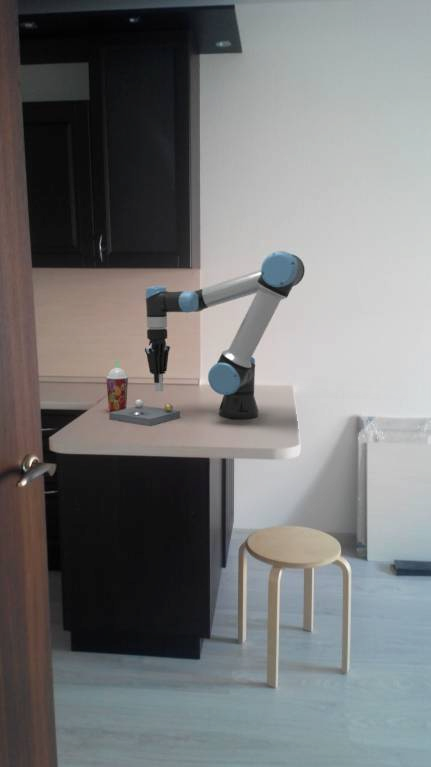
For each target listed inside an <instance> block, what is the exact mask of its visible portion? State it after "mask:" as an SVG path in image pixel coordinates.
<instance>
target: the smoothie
mask: <svg viewBox="0 0 431 767" xmlns="http://www.w3.org/2000/svg"><path fill="white" fill-rule="evenodd" d="M115 365H116V366H115V367H113V368H112V369H111V370H109V372H108V373H107V376H105V378H106V391H107V404H108V409H109V413H110V412H114V411H119V410H123V409H127V403H128V402H127V401H128V383H129V376H128V374H127V373H126V371H125V370H124V369H123V368H121V367H119V360H115Z"/></svg>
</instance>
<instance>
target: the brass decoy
mask: <svg viewBox="0 0 431 767" xmlns="http://www.w3.org/2000/svg"><path fill="white" fill-rule="evenodd" d="M173 407H174V406H173V405H172V404H171V403H165V405H164V407H163V409H165V411H166V412H171V411H172V410H174V408H173Z"/></svg>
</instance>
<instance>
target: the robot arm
mask: <svg viewBox="0 0 431 767" xmlns="http://www.w3.org/2000/svg"><path fill="white" fill-rule="evenodd" d="M305 270H306V269H305V264H304V262H303V261H302V259H301V258H300V257H299V256H297V255H295V254H293V253H292V254H291V253H290V252H287V251H284V250H283V251H275V252H272V253H271V254H269V255H268V256H266V258H264V260H263V262H262V263H261V269H259V270H257V271H253V272H250V273H248V274H244V275H241V276H238V277H236V278H232V279H228V280H226V281H222V282H219V283H216V284H213V285H211V286H207V287H204V288H200V289H196V290H194V291H191V290H190V291H189V290H184V291H183V290H182V291H181V290H180V291H167V288H166V287H165V286H148V287H147V288H146V289H145V290H146V291H145V302H146V303H145V306H146V328H148V329H147V330H146V338H147V340H149V343H148V347H146V348H144V352H145V354H146V359H147V364H148V368H149V373H150V374H151V375H153V381H154V392H158V393H159V392H163V391H164V375H165V374H166V372H167V369H168V361H169V354H170V350H171V346H169V345H167V343H166V340H167V339H168V329H167V327H168V317H167V316H168V314H167V313H193V312H194V313H197V312H202V311H203V310H205V309H208V308H211V307H212V308H213V307H215V306H217V305H221V304H224V303H227V302H231V301H234V300H238V299H240V298H244V297H247V296H248V297H249V296H251V295H254V294H255V296H254V298H252V301H251V303H250V306H249V307H248V310H247V311H246V313H245V315H244V318H243V320H242V322H241V324H240V325H239V328H238V330H237V331H236V334H235V336H234V337H233V339H232V341H231V344H230V346H229V348H228V349H226V350H223V351H222V352H221V354H220V356H219V358H218V360H217V362H216V363H214V364H213V365H212V366H211V367H210V370H209V371H208V375H207V381H208V383H209V387H211V389H212V390H213V391H214V392H215V393H216V394H219V395H223V397H222V399H221V403H220V406H219V408H218V416H220V417H222V418H226V419H237V420H238V419H240V420H243V419H244V420H245V419H253V418H257V417H259V409H258V405H257V401H256V397H255V378H256V377H255V376H256V374H255V373H256V362H255V361H256V360H255V358H254V357H253V355H254V353H255V351H256V350H257V347H258V346H259V345H260V344H259V343H260V341H261V340H262V338H263V336H264V334H265V332H266V331H267V327H268V326H269V324H270V322H271V320H272V318H273V316H274V314H275V313H276V311H277V308H278V306H279V305H280V303H281V301H282V300H284V299H286V298H288V297H289V294H290V293H291V290H292V288H293V287H295V286H297V285H298V284H299V283H300V282H301V281H302V280H303V278H304V277H305Z"/></svg>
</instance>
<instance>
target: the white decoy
mask: <svg viewBox="0 0 431 767" xmlns="http://www.w3.org/2000/svg"><path fill="white" fill-rule="evenodd" d="M142 406H144V402H143V400H142V399H136V400H135V402H134V407H137V408H141V407H142Z"/></svg>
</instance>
